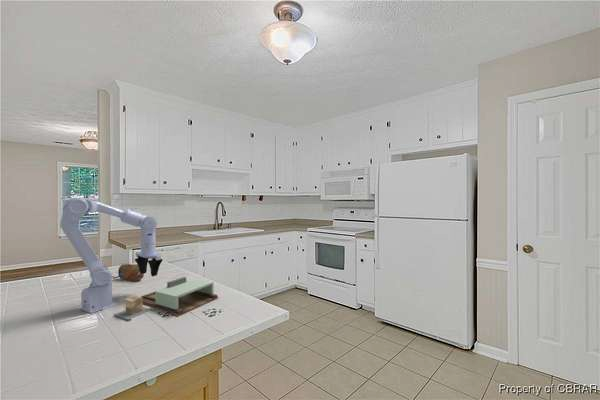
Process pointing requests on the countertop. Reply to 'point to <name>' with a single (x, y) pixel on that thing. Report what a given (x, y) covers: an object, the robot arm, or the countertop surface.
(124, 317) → the mat
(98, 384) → the countertop surface
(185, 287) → the cover
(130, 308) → the block
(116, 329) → the countertop surface
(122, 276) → the tin
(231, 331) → the countertop surface
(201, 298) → the puzzle board
